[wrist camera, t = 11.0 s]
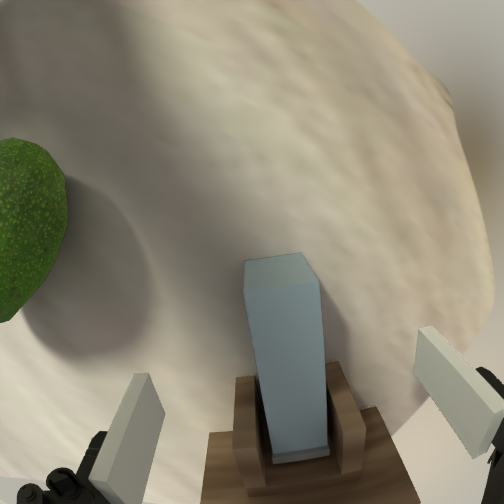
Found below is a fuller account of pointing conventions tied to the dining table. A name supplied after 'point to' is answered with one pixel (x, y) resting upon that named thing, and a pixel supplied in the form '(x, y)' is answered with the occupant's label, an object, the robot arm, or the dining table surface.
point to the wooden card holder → (310, 470)
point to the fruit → (28, 221)
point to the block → (289, 354)
